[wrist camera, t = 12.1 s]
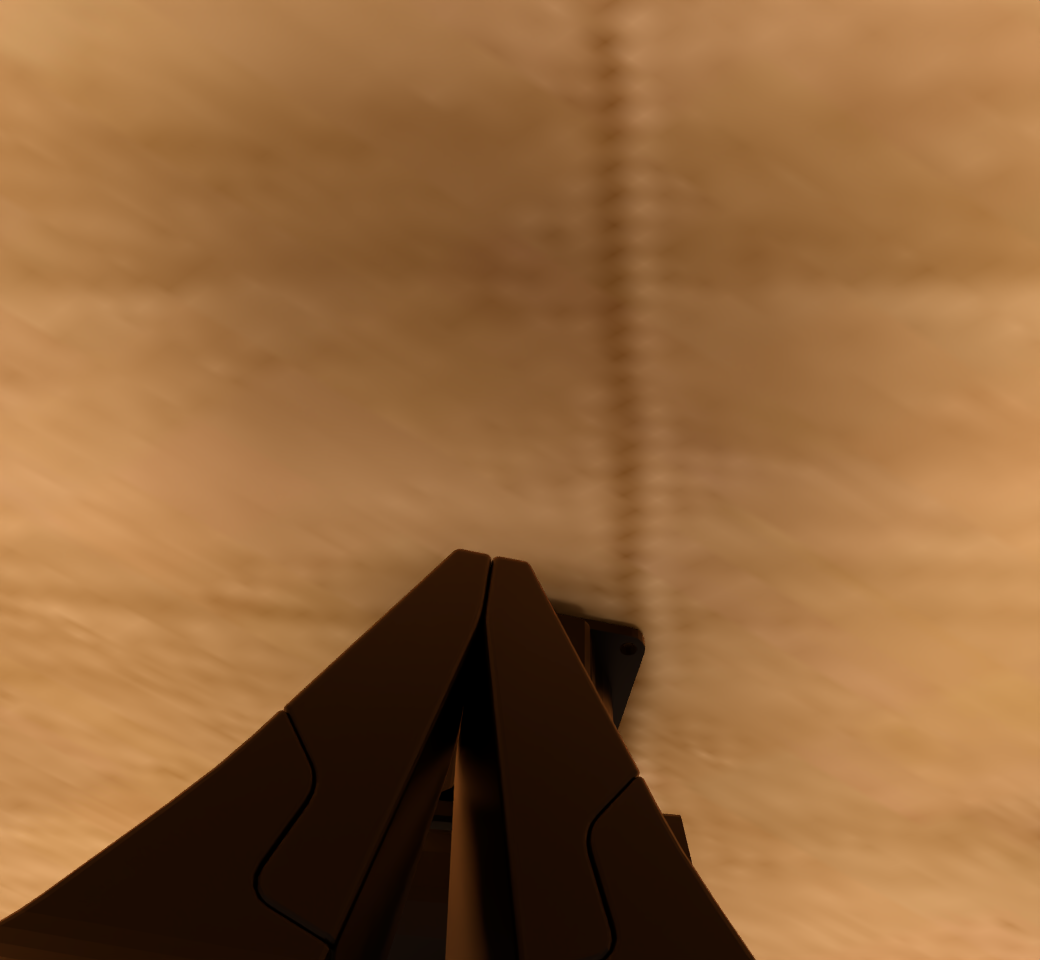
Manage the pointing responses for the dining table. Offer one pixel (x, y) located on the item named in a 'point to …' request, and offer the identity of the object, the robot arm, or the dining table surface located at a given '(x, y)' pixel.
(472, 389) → the dining table surface
